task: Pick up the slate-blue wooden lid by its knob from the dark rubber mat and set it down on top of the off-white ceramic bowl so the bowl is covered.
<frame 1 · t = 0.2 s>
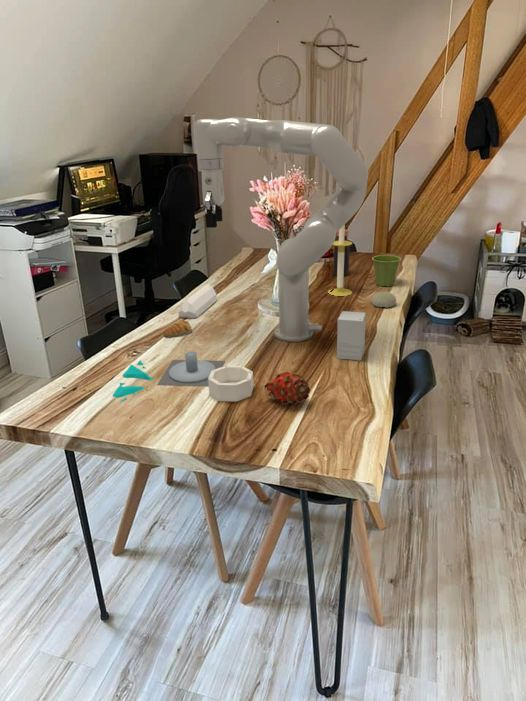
hand: (214, 224, 159), 36 cm above the table, tool pointing down, fingers open, 9 cm apart
lid: (192, 372, 147), resting on mat
pastry: (179, 334, 176), on the table
candle: (339, 293, 210), on the table
bowl: (231, 391, 137), on the table
plant pot: (384, 284, 219), on the table
sea urchin shell: (383, 305, 196), on the table
cloth: (134, 384, 144), on the table
crystal: (198, 309, 198), on the table
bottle: (340, 275, 234), on the table
supplement box: (350, 355, 156), on the table
mat: (192, 373, 147), on the table
dragon fruit: (287, 402, 132), on the table
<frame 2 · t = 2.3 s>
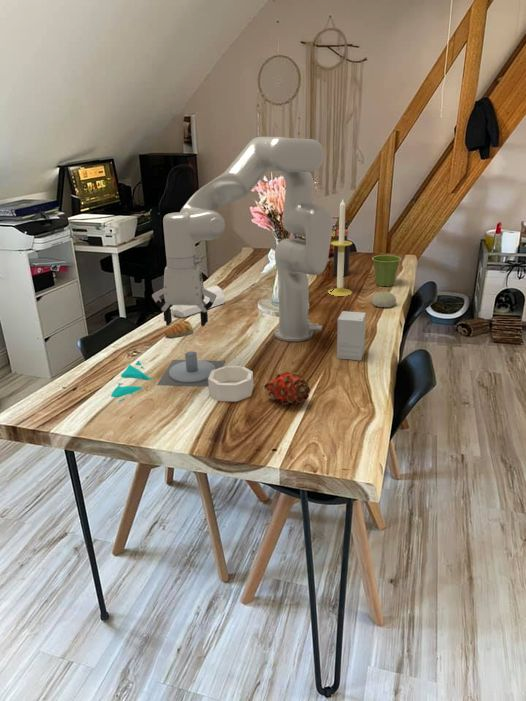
hand: (186, 324, 141), 15 cm above the table, tool pointing down, fingers open, 9 cm apart
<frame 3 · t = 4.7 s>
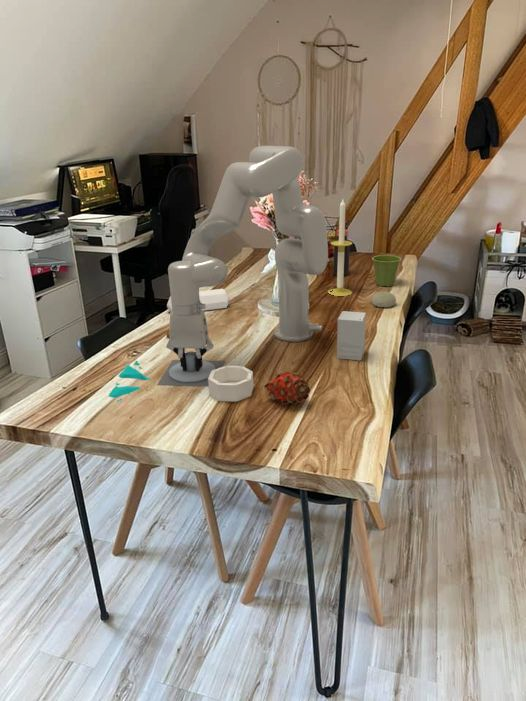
hand: (192, 368, 147), 2 cm above the table, tool pointing down, fingers closed on lid, 3 cm apart
lid: (192, 372, 147), resting on mat, touching gripper
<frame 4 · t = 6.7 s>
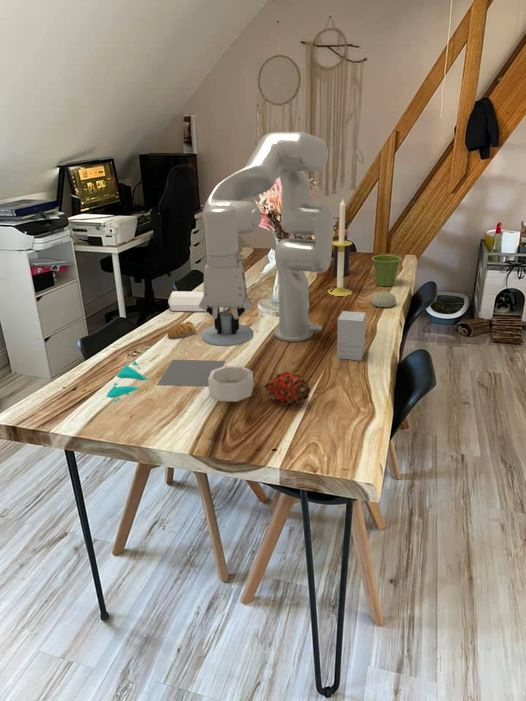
hand: (227, 331, 130), 17 cm above the table, tool pointing down, fingers closed on lid, 3 cm apart
lid: (227, 336, 130), point 16 cm above the table, touching gripper
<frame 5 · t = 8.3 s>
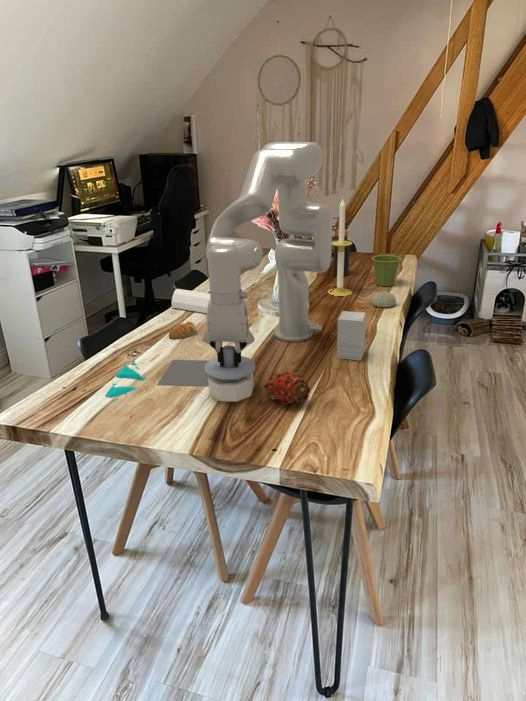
hand: (229, 364, 133), 8 cm above the table, tool pointing down, fingers closed on lid, 3 cm apart
lid: (230, 368, 134), point 7 cm above the table, touching gripper
when the fingers open (7 cm above the table, at t = 9.1 s): lid drops 1 cm, resting on bowl.
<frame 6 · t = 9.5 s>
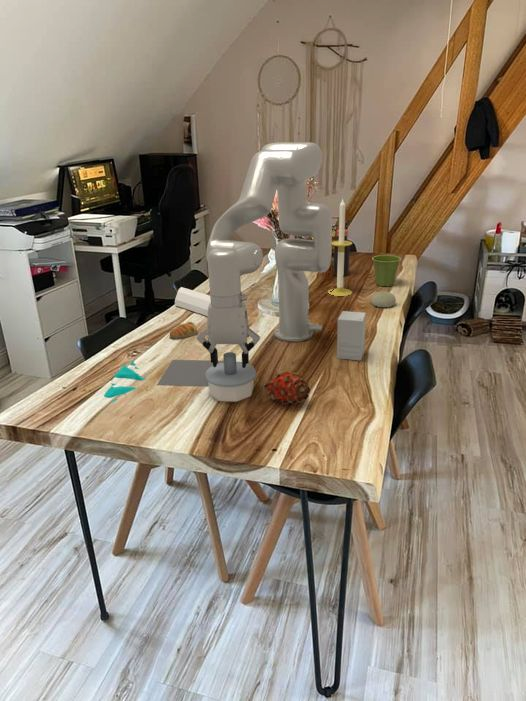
hand: (230, 364, 134), 8 cm above the table, tool pointing down, fingers open, 7 cm apart
lid: (230, 375, 135), point 5 cm above the table, touching bowl
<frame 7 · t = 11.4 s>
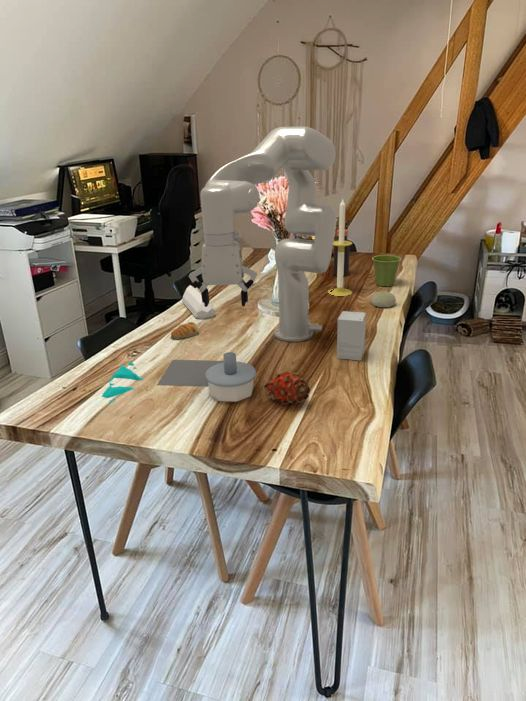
hand: (225, 304, 134), 22 cm above the table, tool pointing down, fingers open, 9 cm apart
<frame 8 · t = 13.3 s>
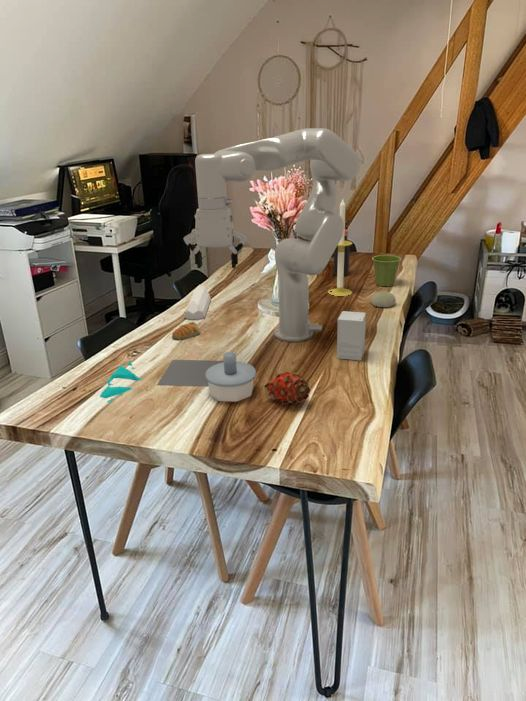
hand: (217, 267, 144), 28 cm above the table, tool pointing down, fingers open, 9 cm apart
at the end: lid 0.0 cm off-centre on the bowl, point 5.0 cm above the bowl's base; lid tilted 0°; the gripper is holding nothing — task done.
